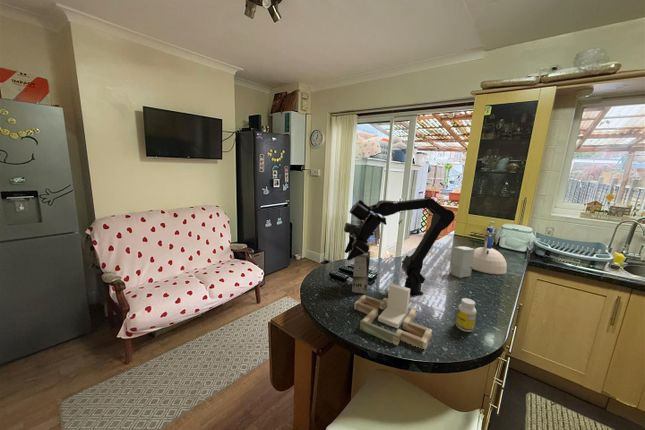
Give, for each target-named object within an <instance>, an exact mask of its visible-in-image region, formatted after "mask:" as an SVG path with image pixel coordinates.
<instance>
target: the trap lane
mask: <svg viewBox="0 0 645 430" xmlns="http://www.w3.org/2000/svg"><path fill="white" fill-rule="evenodd" d="M387 303H388V297H387V298H386V297H384V298H383V299H378V298H374V297H371V296H368V295H367V294H363V295H362V296H360V298H359V299H357V300H356V301H355V302H354V306H353V307H354V308H353V309H354V310H356V311H359V312H361V313H363V314H366V315H365V317H364V318H363V319H361V320H360V322H359V330H360V331H362V332H365V333H367V334H369V335H372V336H375V337H377V338H379V339H380V340H383V341H386V342H388V343H391V344H392V343H393V345H395V346H399V344H400V342H404V343H405V342H406V344H407V345H410V344H411V345H410V346H413V347H415V346H416V347H415V348H417V347H419V348H418V349H420V348H421V349H420V350H422V349H424V350H423V351H426V350H427V348H428V346H429V343H430V340H431V338H432V334H433V333H432V332H433V330H432V329H431V328H428V327H426V326H424V325H420V324H418V323H415V322H413V321H414V319H415V318H416V316H417V315H418V314H417V312H418V308H416V307H412V308H411V309H410V311H408V312H409V313H408V314H407V316H406V317H405V319H404V320H403V322H402V329H403V330H402V329H399V328H398V329H397V330H396V332H393V331H391V330H388V329H386V328H383V327H380V326H379V325H376V324H373V322H374V320H375V319H376V318H378V317H379V309H380V310H383V311H384V310H385V309H386V308H387ZM404 330H406V331H404ZM400 340H401V341H400ZM425 349H426V350H425Z"/></svg>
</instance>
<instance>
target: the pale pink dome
mask: <svg viewBox="0 0 645 430" xmlns="http://www.w3.org/2000/svg"><path fill="white" fill-rule="evenodd" d="M492 243H493V237H492V236H488V237H486V241H485V243H484V246H482V247H477V248H474V249H475V250H474V256H473V263H472V270H474V271H477V272H480V273H485V274H491V275H504V274H506V273H507V265H508V264H507V261H506V259H505V257H504V256H503V254H502V253H501V252H500V251H498V250H497V249H495V248H493V247H492V245H493V244H492Z"/></svg>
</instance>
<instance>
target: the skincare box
mask: <svg viewBox="0 0 645 430" xmlns="http://www.w3.org/2000/svg"><path fill="white" fill-rule="evenodd" d="M475 249H476V248H471V247H469V246H454V247H453V255H452V261H451V269H450V274H451V275H453V276H454V277H457V278H459V279H461V278H466V277H471V275H472V270H473V269H472V263H473V256H474V250H475Z"/></svg>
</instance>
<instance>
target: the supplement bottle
mask: <svg viewBox="0 0 645 430" xmlns="http://www.w3.org/2000/svg"><path fill="white" fill-rule="evenodd" d="M475 306H476V301H474V300H473V299H471V298H469V297H468V298H467V297H463V298H461V301H460V304H459V305H458V306H457V313H456V319H455V325H456V327H457V328H458V329H459V330H461V331H463V332H465V333H466V332H468V333H469V332H470V333H472V332H474V328H475V324H476V323H475V322H476V319H477V318H476V317H477V309H476V308H475Z"/></svg>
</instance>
